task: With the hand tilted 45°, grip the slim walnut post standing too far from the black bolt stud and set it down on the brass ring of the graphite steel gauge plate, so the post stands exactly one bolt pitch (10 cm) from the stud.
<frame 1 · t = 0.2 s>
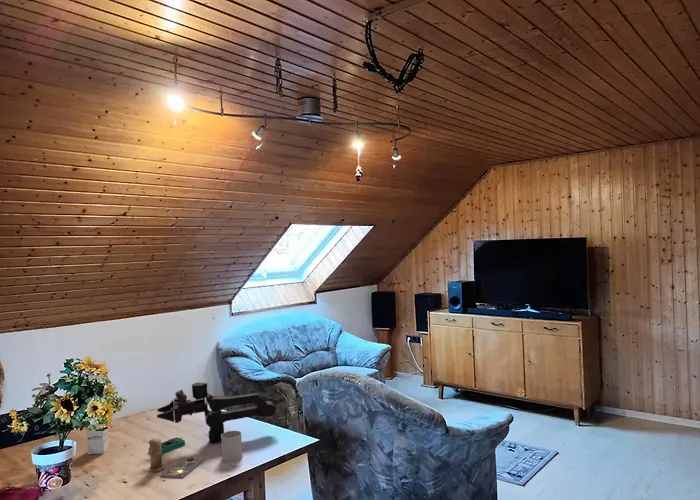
hand: (157, 413, 237), 17 cm above the table, tool horizontal, fingers open, 9 cm apart
digital multimeter: (167, 449, 239), on the table
cup: (232, 458, 225), on the table
supplement box: (98, 451, 240), on the table
walnut post: (156, 469, 217), on the table
gauge plate: (183, 468, 217), on the table
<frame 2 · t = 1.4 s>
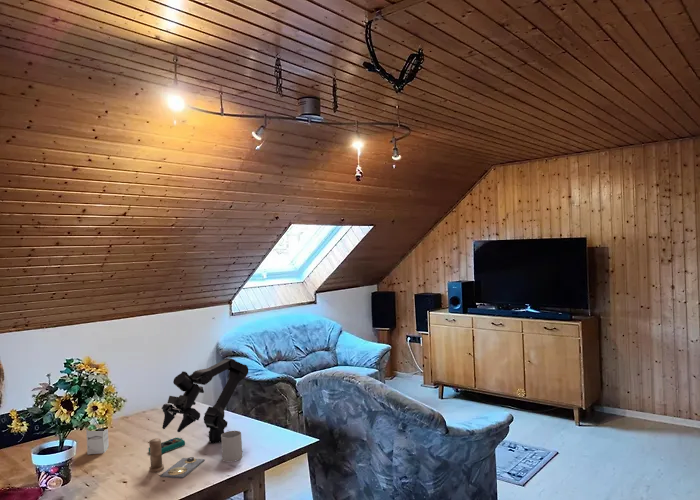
hand: (170, 430, 223), 14 cm above the table, tool tilted 45°, fingers open, 9 cm apart
nothing on the table moved.
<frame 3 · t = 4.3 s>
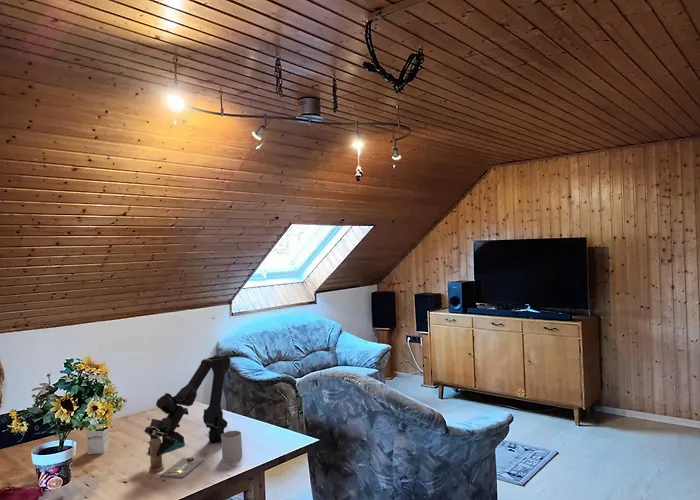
hand: (153, 454, 215), 7 cm above the table, tool tilted 45°, fingers closed on walnut post, 4 cm apart
walnut post: (156, 469, 217), on the table, touching gripper
everything else where it was.
when the fingers open (8 cm above the table, at t = 8.1 s): walnut post stays where it is, resting on gauge plate.
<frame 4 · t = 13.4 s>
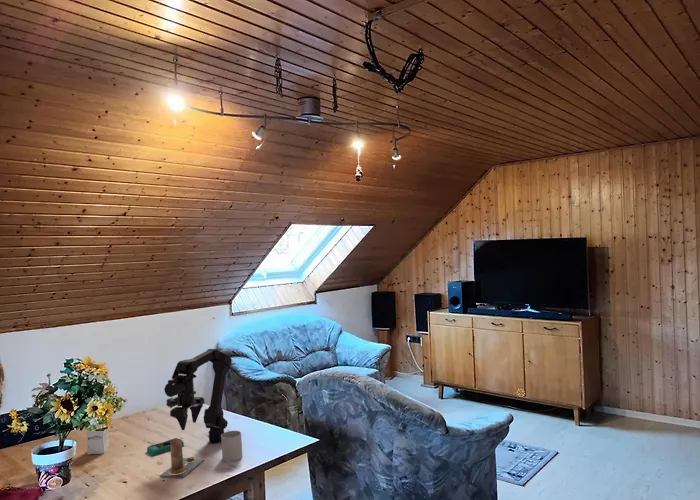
hand: (188, 426, 229), 13 cm above the table, tool pointing down, fingers open, 9 cm apart
walnut post: (177, 470, 213), point 1 cm above the table, touching gauge plate
at the end: walnut post 0.1 cm from the target spot on the gauge plate, point 0.7 cm above the gauge plate's base; walnut post tilted 0°; the gripper is holding nothing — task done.
